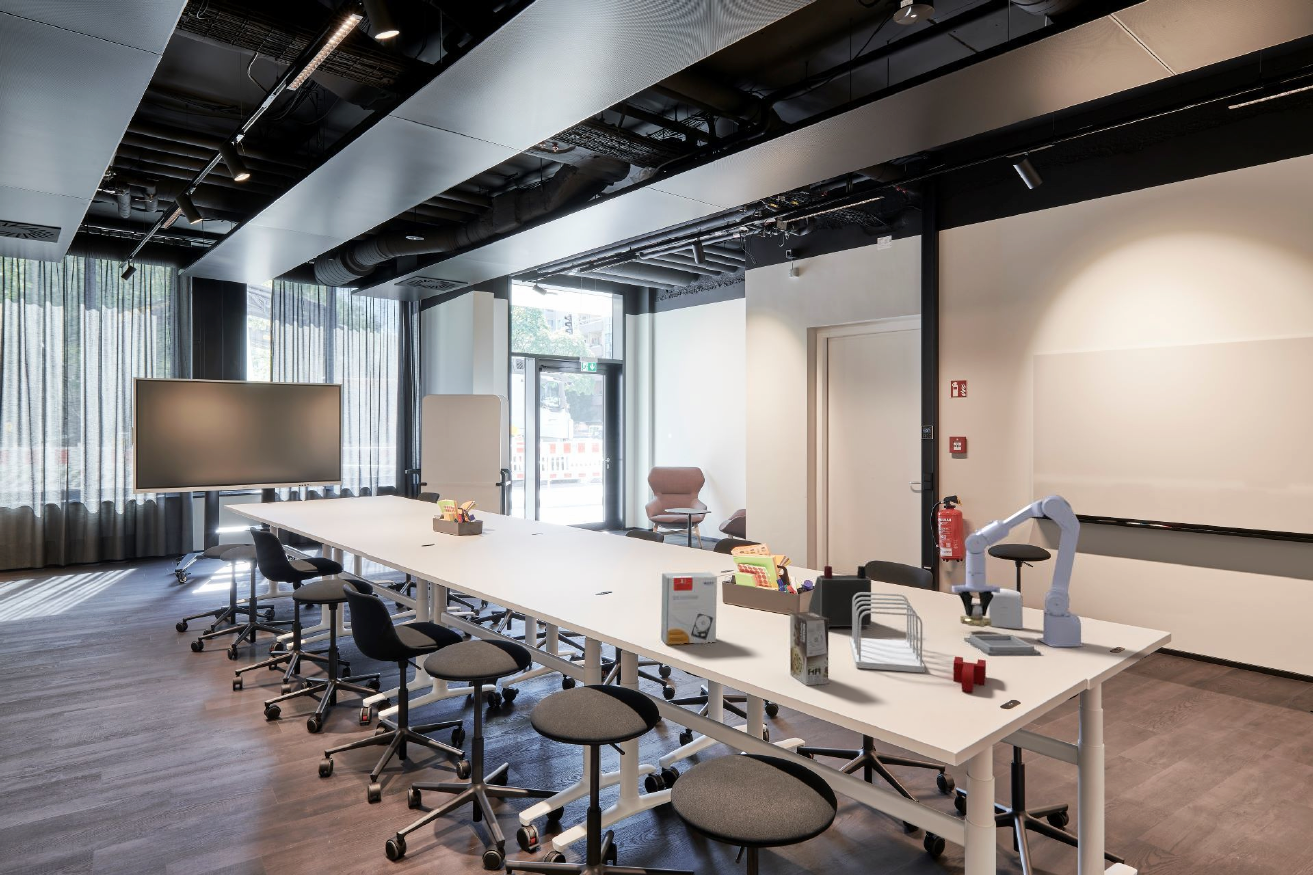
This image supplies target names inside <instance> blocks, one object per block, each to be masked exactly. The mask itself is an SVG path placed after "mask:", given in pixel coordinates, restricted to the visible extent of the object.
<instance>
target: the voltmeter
mask: <svg viewBox="0 0 1313 875" xmlns="http://www.w3.org/2000/svg"><path fill="white" fill-rule="evenodd" d="M823 570H824V571H823V575H819V576H816V580H815V583H814V587H813V589H812V594H811V596H810V600H809V603H808V611H811V612H814V613H816V614H818V615H821V616H823V617H825V618H827V619H829V629H830V627H842V626H843V627H852V600H853V597H854V595H855V594H857V593H860V592H867V593H872V578H870V577H868V576H867V572H866V566H864V565H858V566H857V572H856V574H857V575H856V574H854V575H852V574H851V575H850V574H847V575H843V574H841V575H840V574H839V575H835V574H833V567H832V566H829V565H825V566H824V569H823ZM861 597H869V598H872V595H864V594H861V595H858V596H856V598H855V600H856V599H858V598H861ZM855 600H854V602H855ZM864 601H868V602H872V600H859V601H857V603H856V604H855V607H856V605H857V604H858V603H860V602H864ZM864 606H872V604H861V605H859V606H858V607H857V611H858V610H859V609H860V608H861V607H864ZM866 611H872V609H862V610H861V611H860V612H859V615H858V627H859V619H860V616H861V614H862V613H864V612H866ZM871 626H872V613H868V614H865V615H864V616H863V617H862V619H861V630H866V629H865V628H866V627H871Z"/></svg>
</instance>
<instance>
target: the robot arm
mask: <svg viewBox="0 0 1313 875" xmlns="http://www.w3.org/2000/svg"><path fill="white" fill-rule="evenodd" d="M1044 515H1045V516H1047V517H1048V518H1050V519H1051V520H1052V521H1054V522H1055V523H1056V524H1057V525H1058V526H1059V528H1060V529H1061V535H1060V538H1059V543H1058V544H1059V545H1058V551H1057V555H1056V556H1057V557H1056V560H1055V566H1054V571H1053V576H1052V581H1051V582H1052V583H1051V587H1050V589H1049V590H1048V591H1047V594H1046V595H1045V599H1044V607H1045V609H1043V622H1042V623H1043V624H1042V625H1043V633H1042V634H1043V637H1037V639H1036V640H1038V641H1040V642H1041V643H1042V644H1043V643H1044V644H1046V645H1047V646H1050V647H1052V648H1055V647H1057V648H1058V647H1059V648H1060V647H1061V648H1062V647H1065V648H1066V647H1067V648H1068V647H1077V648H1078V647H1083V645H1084V644H1082V622H1081V620H1080V617H1079V615H1077V614H1075V613H1072V612H1071V611H1070V610H1069V608H1070V596H1069V593H1068V592H1069V588H1070V581H1071V576H1072V571H1073V565H1074V560H1075V557H1076V556H1075V555H1076V550H1077V546H1078V540H1079V535H1080V529H1081V523H1080V522H1079V520H1078V518H1077V516H1076V513H1075V512H1074V510H1073V508H1072V506H1071V504H1070V503H1069V502H1068V501H1067V500H1066V499H1065V498H1064V497H1063V496H1061V495H1059V494H1050V495H1048V496H1046V497H1045V498H1042V499H1039V500H1037V501H1034V502H1032V503H1029V504H1028V505H1026V506H1025V507H1024V508H1022V509H1020V510H1018V511H1017V512H1016V513H1014V514H1013V515H1011V516H1009V517H1007V518H1006V519H1004V520H999V519H996V520H993V519H991V520H990V521H989V522H988V524H987V525H986V526H984V527H982V528H980V529H976V530H975V531H974V532H975V533H972V534H970V535H969V536H967V538H966V539H965V541H964V547H965V549H966V553H965V555H966V556H965V584H960V585H959V584H958V585H951V592H952V593H954V594H958V596H959V598H960V599H961V602H962V605H963V608H964V610H965V616H971V604H972V603H973V599H974V596H973V595H971V593H978V596H979V603H980V604H983V617H986V616H987V613H988V606H989V604H990V602H991V600H992V598H993V594H992V592H996V593H1000V589H1001V586H1000V585H988V584H987V583H986V582H987V580H986V577H987V575H986V574H987V573H986V572H987V569H986V565H987V562H986V548H987V547H991V546H992V545H993V546H994V544H996V543H998V542H1000V541H1002V540H1003V539H1005V538H1007V537H1009V533H1010V530H1011V529H1013V528H1015V527H1017V526H1018V525H1020V524H1023V523H1024V522H1026V521H1029V520H1030V519H1032V518H1034V517H1035V518H1037V517H1038V518H1043V517H1044Z"/></svg>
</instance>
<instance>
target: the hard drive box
mask: <svg viewBox="0 0 1313 875" xmlns="http://www.w3.org/2000/svg"><path fill="white" fill-rule="evenodd" d="M717 592H718V577H717V575H715V574H714V573H713V572H706V571H705V572H666V573H665V572H664V573H662V574H661V614H660V615H661V617H660V618H661V620H660V621H661V623H660V624H661V627H660V639H661V640H662V641H663V643H664V644H665V645H676V644H680V645H685V644H684V643H694V644H701V643H703V644H713V643H712V642H716V643H717V638H716V637H717V595H718V593H717ZM708 642H710V643H708Z"/></svg>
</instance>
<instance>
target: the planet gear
mask: <svg viewBox="0 0 1313 875" xmlns="http://www.w3.org/2000/svg"><path fill="white" fill-rule="evenodd" d="M960 624H962V625H967V626H968V627H980V628H985V627H987V626H988V627H992V626H991V619H990V618H988V617H986V616H983V604H980V602H972V604H971V616H967V615H961V616H960Z"/></svg>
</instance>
